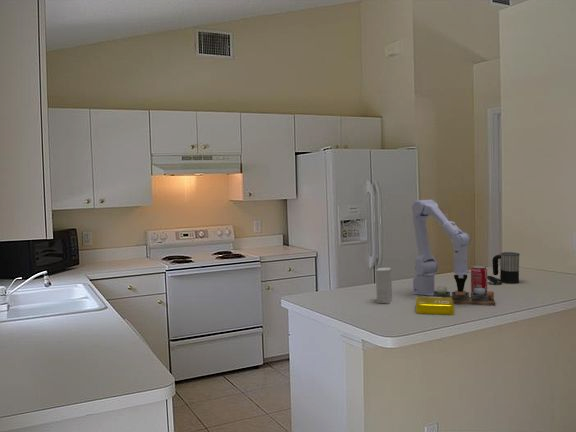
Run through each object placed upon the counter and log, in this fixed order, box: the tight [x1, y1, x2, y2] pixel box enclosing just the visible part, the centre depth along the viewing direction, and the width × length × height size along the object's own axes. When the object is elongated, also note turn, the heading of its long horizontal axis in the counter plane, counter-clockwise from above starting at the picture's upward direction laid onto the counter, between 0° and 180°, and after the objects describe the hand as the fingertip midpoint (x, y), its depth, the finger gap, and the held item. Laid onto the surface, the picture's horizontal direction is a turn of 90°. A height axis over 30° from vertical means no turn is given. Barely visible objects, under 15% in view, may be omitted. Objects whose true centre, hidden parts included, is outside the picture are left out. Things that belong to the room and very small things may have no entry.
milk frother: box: [487, 251, 521, 285], centre depth 285 cm, size 14×16×15 cm
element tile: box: [415, 295, 455, 316], centre depth 235 cm, size 15×15×5 cm
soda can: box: [470, 265, 488, 293], centre depth 261 cm, size 7×7×13 cm
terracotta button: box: [454, 289, 467, 295], centre depth 248 cm, size 4×4×3 cm
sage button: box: [435, 285, 448, 294], centre depth 250 cm, size 4×4×3 cm
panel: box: [427, 290, 496, 307], centre depth 248 cm, size 28×10×5 cm, turn 74°
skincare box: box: [375, 267, 393, 305], centre depth 251 cm, size 8×6×15 cm
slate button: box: [474, 288, 485, 296], centre depth 245 cm, size 4×4×3 cm
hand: (460, 291), depth 248 cm, fingers closed, pressing on terracotta button
